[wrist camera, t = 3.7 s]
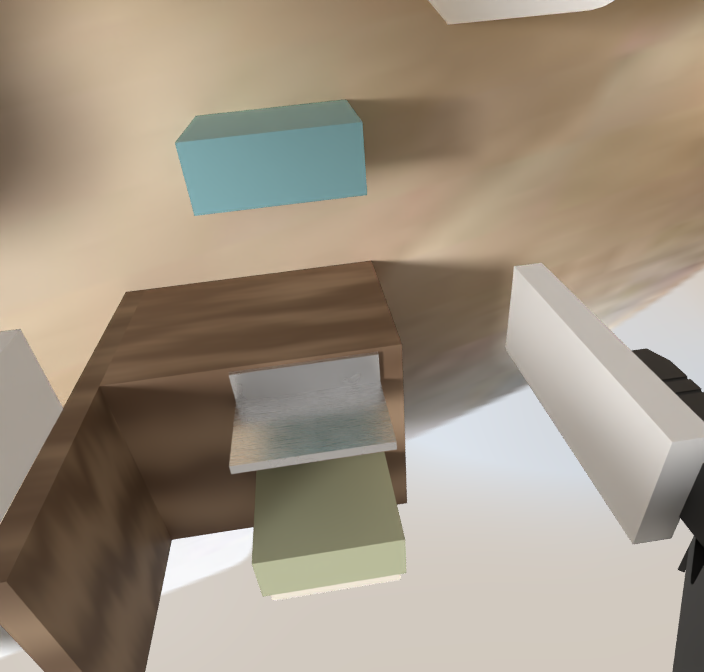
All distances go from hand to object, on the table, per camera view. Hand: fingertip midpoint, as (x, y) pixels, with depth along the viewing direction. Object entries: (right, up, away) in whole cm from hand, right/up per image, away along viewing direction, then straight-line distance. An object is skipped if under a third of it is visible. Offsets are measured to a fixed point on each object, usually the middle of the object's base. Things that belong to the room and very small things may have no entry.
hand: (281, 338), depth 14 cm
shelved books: (0, -11, +23) cm, 25 cm away
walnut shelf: (-5, -1, +30) cm, 30 cm away
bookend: (-1, -3, +17) cm, 17 cm away
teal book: (-3, +14, +21) cm, 25 cm away
